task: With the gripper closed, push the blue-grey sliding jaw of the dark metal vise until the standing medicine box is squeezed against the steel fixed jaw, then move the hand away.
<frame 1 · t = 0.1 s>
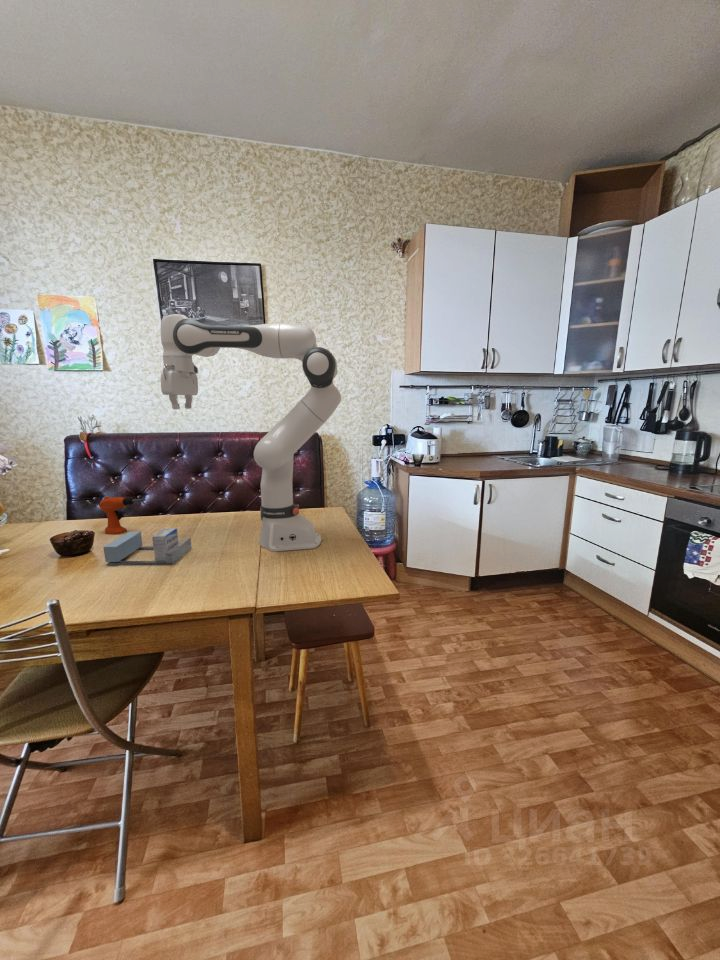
hand: (182, 409, 132), 48 cm above the table, tool pointing down, fingers open, 8 cm apart
toy drill: (126, 532, 152), on the table
vise jaw: (124, 546, 128), point 4 cm above the table, slide at 0.0 cm
medicine box: (167, 557, 129), resting in vise
vise: (151, 556, 129), on the table
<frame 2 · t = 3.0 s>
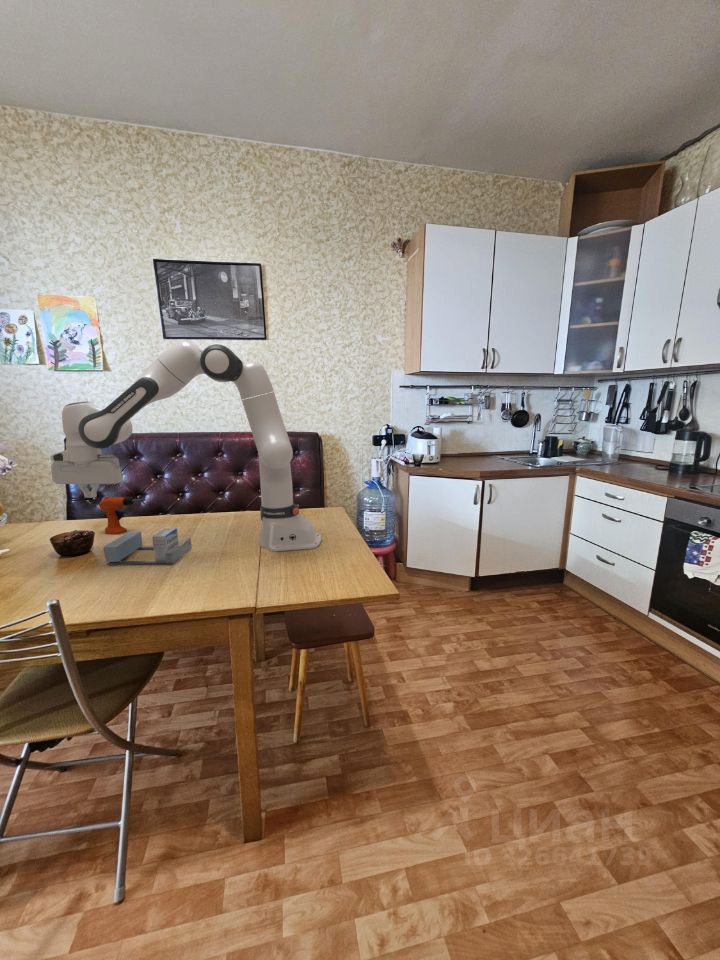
hand: (90, 497, 125), 20 cm above the table, tool pointing down, fingers closed
nothing on the table moved.
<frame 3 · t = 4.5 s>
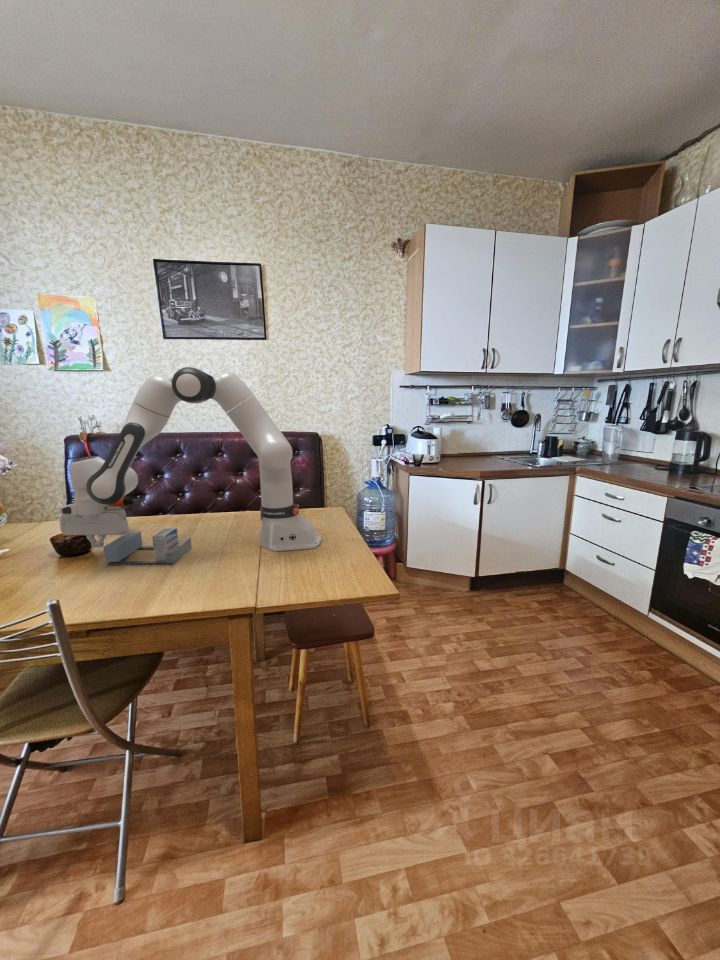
hand: (98, 546, 128), 3 cm above the table, tool pointing down, fingers closed
nothing on the table moved.
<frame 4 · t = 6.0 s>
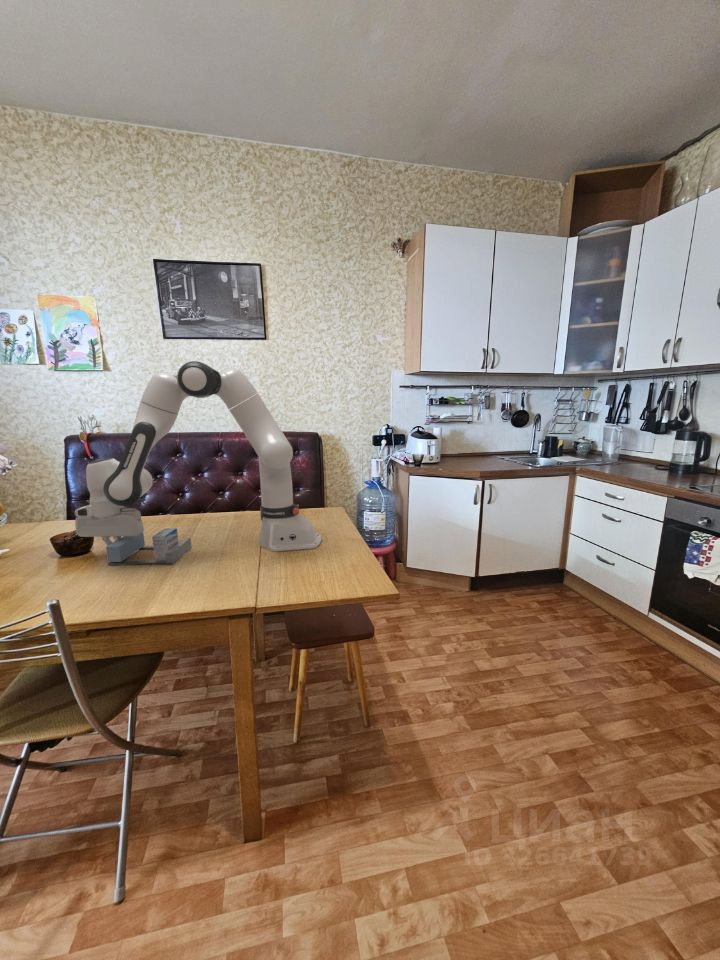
hand: (113, 548, 128), 3 cm above the table, tool pointing down, fingers closed
vise jaw: (126, 546, 128), point 4 cm above the table, slide at 0.8 cm, touching gripper
everything else where it was.
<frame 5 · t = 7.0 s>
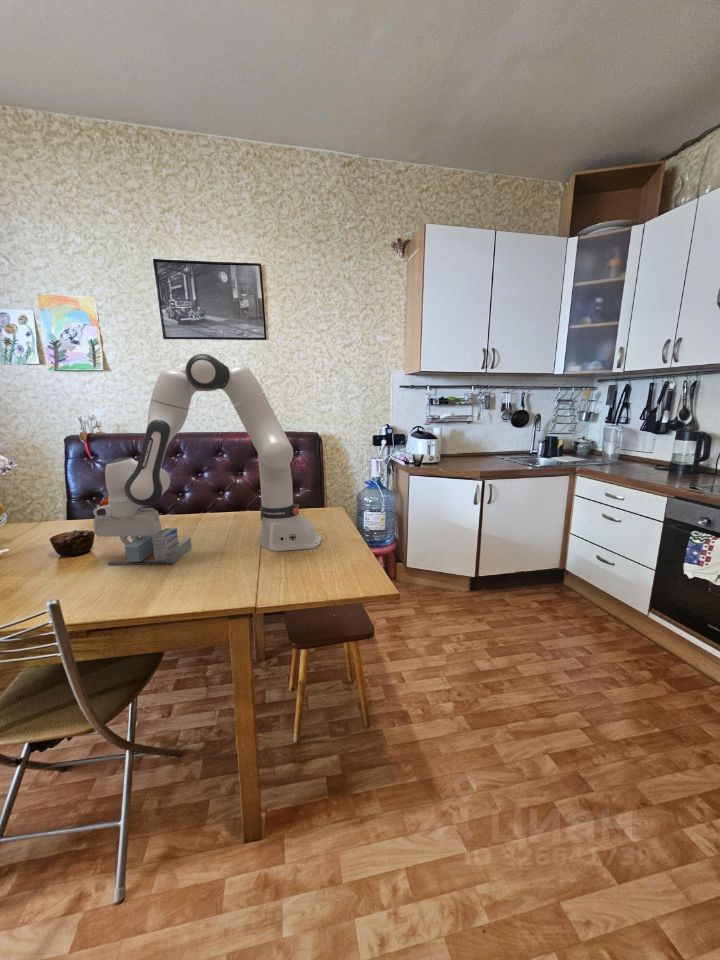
hand: (131, 548, 128), 3 cm above the table, tool pointing down, fingers closed
vise jaw: (144, 546, 128), point 4 cm above the table, slide at 6.7 cm, touching gripper
everything else where it was.
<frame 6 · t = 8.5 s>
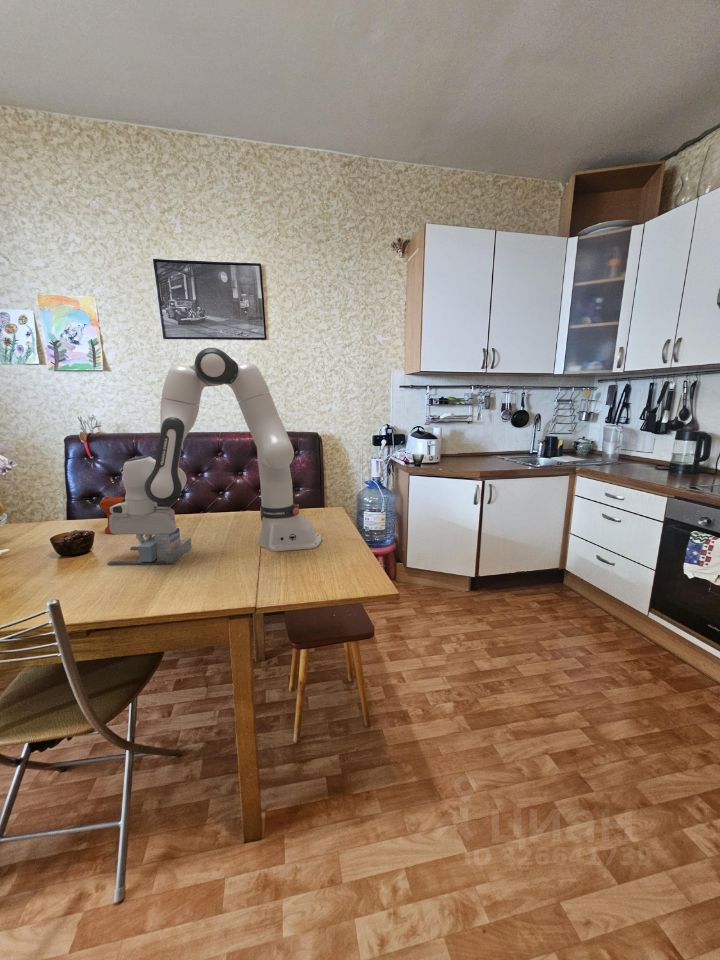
hand: (145, 546, 128), 4 cm above the table, tool pointing down, fingers closed
vise jaw: (156, 545, 128), point 4 cm above the table, slide at 10.6 cm, touching gripper, medicine box
medicine box: (170, 556, 129), resting in vise, touching vise jaw
everything else where it was.
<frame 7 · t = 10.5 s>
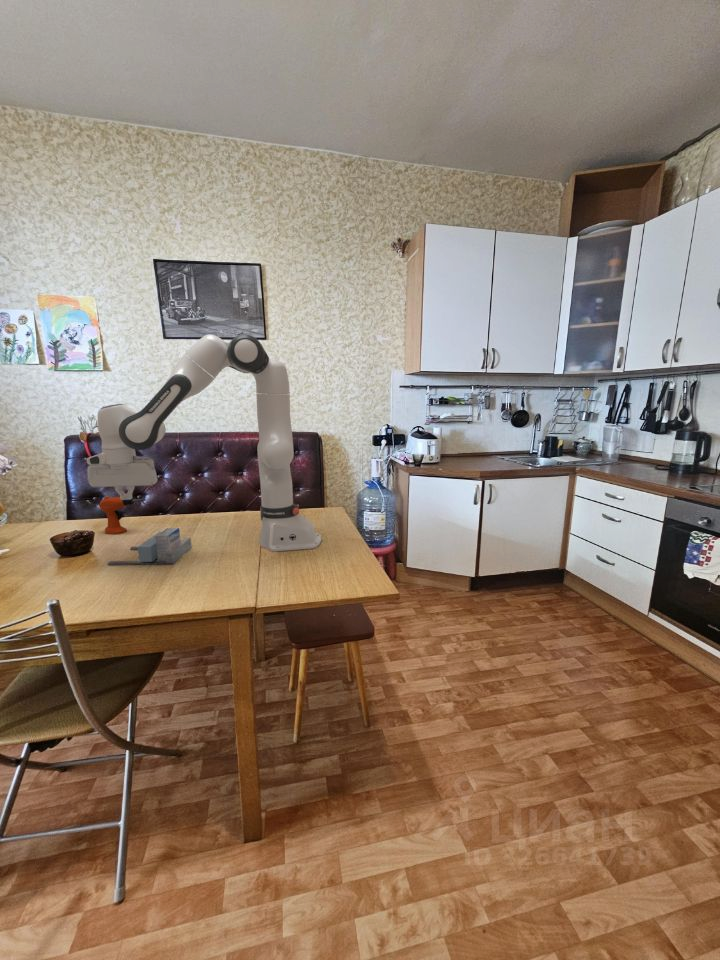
hand: (126, 499, 125), 20 cm above the table, tool pointing down, fingers closed
vise jaw: (156, 545, 128), point 4 cm above the table, slide at 10.6 cm, touching medicine box
medicine box: (170, 556, 129), resting in vise, touching vise jaw
everything else where it was.
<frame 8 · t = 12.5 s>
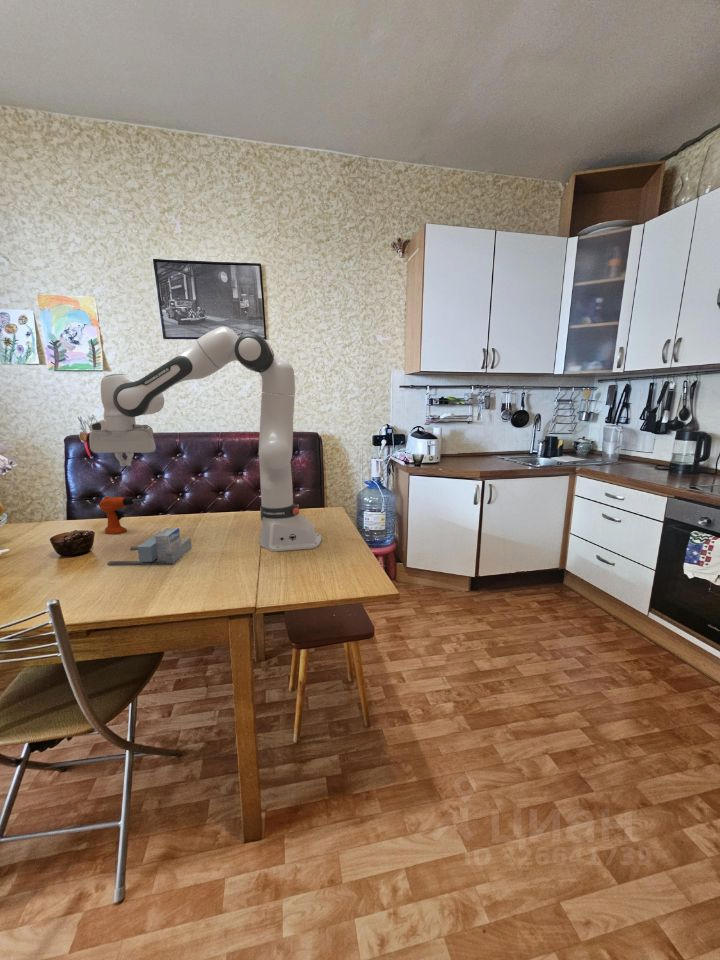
hand: (125, 465, 132), 29 cm above the table, tool pointing down, fingers closed
nothing on the table moved.
at the end: vise jaw slide at 10.6 cm; medicine box 0.8 cm from the target spot on the vise, point 0.0 cm above the vise's base; medicine box tilted 1° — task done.
